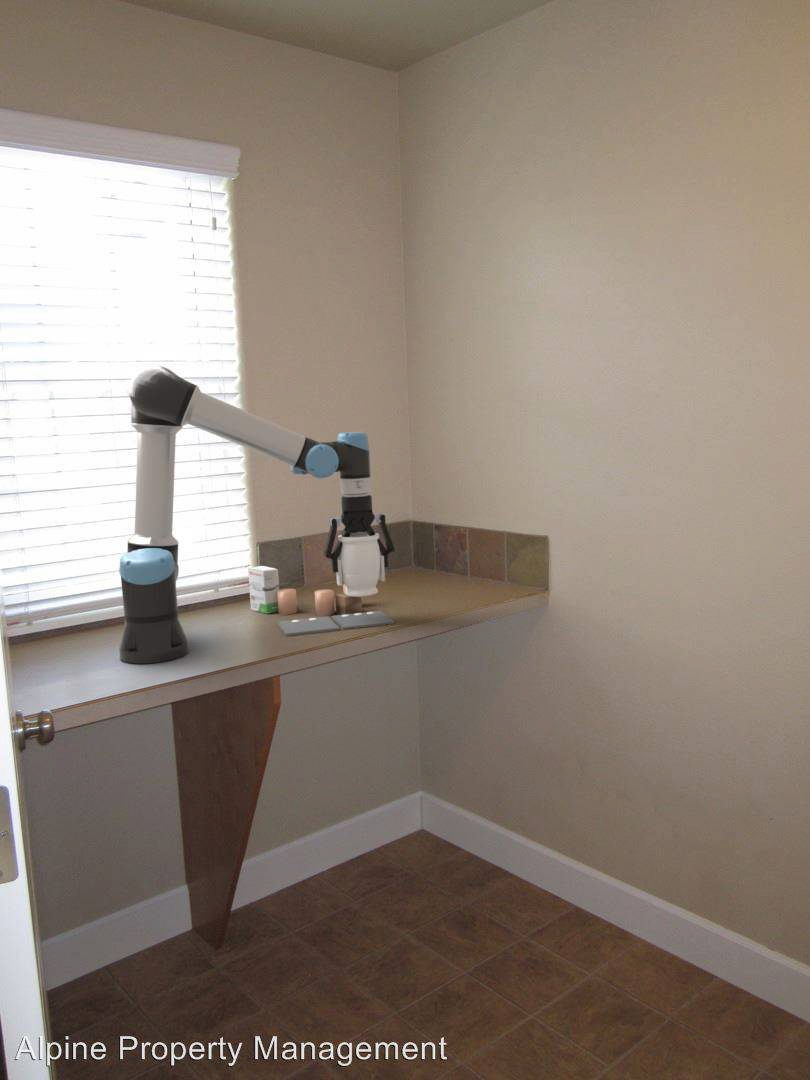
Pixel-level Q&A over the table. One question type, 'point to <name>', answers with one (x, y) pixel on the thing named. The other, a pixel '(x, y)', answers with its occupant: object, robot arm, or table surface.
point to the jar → (360, 563)
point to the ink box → (263, 589)
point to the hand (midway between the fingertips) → (361, 582)
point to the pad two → (307, 626)
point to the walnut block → (348, 604)
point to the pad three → (362, 619)
